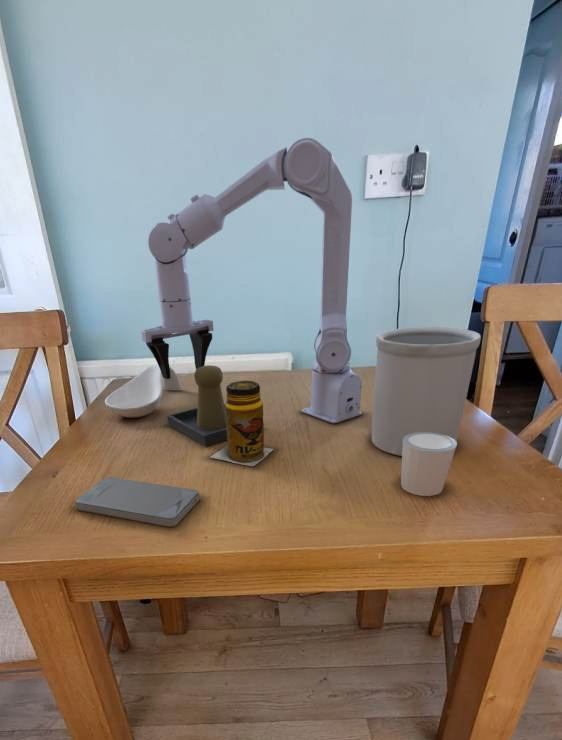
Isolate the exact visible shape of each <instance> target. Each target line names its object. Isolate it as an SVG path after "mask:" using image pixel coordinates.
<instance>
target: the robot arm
mask: <svg viewBox="0 0 562 740" xmlns="http://www.w3.org/2000/svg"><path fill="white" fill-rule="evenodd" d="M285 182H287V184H288V186H289V187H290V189H292V190H293V191H294V192H296V193H298V194H300V195H301V196H304V197H306V198H307V199H309V200H310V201H311V202H312V203H313V204H314V205H315V206H316V207H317V209H318V210H320V211H321V213H322V239H321V240H322V242H321V244H322V245H321V278H320V280H321V281H320V284H321V285H320V315H319V329H318V333H317V334H316V336H315V339H314V342H313V346H314V347H313V349H314V352H315V360H316V361H315V362H313V364H312V365H311V383H310V384H311V389H310V406H308V407H305V408H302V409H301V412H302V413H304V414H305V415H310V416H311V417H314V418H317V419H320V420H323V421H325V422H328V423H331V424H337V423H340V422H343V421H346V420H349V419H352V418H355V417H358V416H361V415H363V411H361V410H360V409H361V397H362V385H363V384H362V379H361V377H360V376H359V375H358V374H356V373H354V372H353V371H352V370H351V364H350V360H351V357H352V348H351V345H350V343H349V340H348V322H347V321H348V320H347V307H348V306H347V304H348V286H349V268H350V267H349V265H350V250H351V249H350V248H351V231H352V229H351V228H352V213H353V212H352V210H353V209H352V208H353V196H352V195H353V194H352V191H351V189H350V187H349V186H348V184H347V182H346V180H345V178H344V176H343V175H342V172H341V171H340V169H339V167H338V165H337V163H336V161H335V158H334V156H333V154H332V152H331V151H330V150H328V149H327V148H326V147H325V145H323V144H321V142H319V141H318V140H316V139H315V138H312V137H302V138H299V139H297V140H296V141H294V142H293V143H292V144H291V145H290V147H289V148H287V147H284V148H282V149H279V150H278V151H276V152H274V153H273V154H271V155H270V156H268V157H266V158H264V160H262V161H261V162H259V163H258V164H257V165H256V166H254V167H253V168H251V169H250V170H249V171H248V172H246V173H245V174H244V175H242V176H241V177H240V178H238V179H237V180H236V181H234V182H233V183H232V184H230V185H229V186H228V187H227V188H226V189H224V190H223V191H221V192H220V193H219V194H218V195H216V196H212V195H209V194H206V193H203V194H202V195H201V196H199V194H195V195H193V196H192V197H190V202H191V203H190V204H188V205H187V206H186V207H184V208H183V209H181V210H180V211H178V212H177V213H176V214H174V213H170V214H169V215H168V216H167V219H168V222H164V221H163V222H158V223H156V224H155V226H154V227H153V228H152V229H151V231H150V233H149V236H148V241H147V244H148V248H149V251H150V253H151V255H152V256H153V257H154V267H155V277H156V285H157V292H158V300H159V307H160V314H161V323H162V325H159V326H156V327H155V326H154V327H151V328H147V329H142V330H140V335H141V341H142V342H143V343H145V345H146V346H147V348H148V349H149V351H150V352H151V354H152V356H153V357H154V359H155V361H156V363H157V366H159V368H160V370H161V373H162V376H163V378H165V379H170V361H169V360H170V359H169V358H170V357H169V356H170V355H169V354H170V353H169V351H170V344H169V343H168V342H166V341H165V340H166V339H170V338H176V337H181V336H189V339H190V342H191V346H192V351H193V358H194V359H193V361H194V367H195V370H196V369H198V368H199V367H202V366H206V365H205V364H206V358H207V353H208V350H209V347H210V345H211V343H212V340H213V333H212V332H214V331H215V330H214V329H215V328H214V320H212V319H201V320H193V309H192V301H191V300H192V299H191V291H190V290H191V289H190V281H189V271H188V269H187V268H188V267H187V259H186V255H187V253H188V251H189V250H194V249H195V248H197V247H198V246H199V245H201V244H203V243H204V242H206V241H207V240H209V239H210V238H211V237H213V236H214V235H216V234H217V233H218V232H220V231H222V230H223V227H224V223H225V219H226V217H227V216H228V215H231V214H232V213H233V212H234V211H236V210H238V209H239V208H241V207H242V206H244V205H245V204H247V203H248V202H250V201H252V200H253V199H255V198H257V197H258V196H259V195H261V194H262V193H264V192H266V191H272V190H273V191H275V190H276V191H277V190H278V191H279V190H281V191H282V190H285ZM162 376H161V377H162Z"/></svg>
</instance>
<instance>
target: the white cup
mask: <svg viewBox="0 0 562 740" xmlns="http://www.w3.org/2000/svg"><path fill="white" fill-rule="evenodd" d="M457 446H458V442H456V441H455V440H454V439H453V438H451V437H449V436H446V435H443V434H439V433H432V432H417V433H411V434H409V435H406V436H405V437H404V439H403V449H402V456H401V473H400V474H401V475H400V476H401V477H400V486H401V488H402V489H403V490H404V491H406V492H407V493H409V494H412V495H415V496H421V497H433V496H436V495H439V494H441V493H442V492H443V489H444V486H445V483H446V480H447V477H448V473H449V471H450V468H451V464H452V462H453V458H454V455H455V452H456V449H457Z"/></svg>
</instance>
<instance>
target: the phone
mask: <svg viewBox="0 0 562 740" xmlns="http://www.w3.org/2000/svg"><path fill="white" fill-rule="evenodd" d="M199 501H200V492H199V491H198V490H197V489H192V488H185V487H178V486H172V485H165V484H159V483H152V482H145V481H138V480H131V479H126V478H120V477H112V476H106V477H104V478H103V479H102V480H101V481H99V482H97V483H96V484H95V485H93V486H92V487H91V488H89V489H88V490H87V491H86V492H84V493H83V494H82V495H80V496H79V497H77V498H76V499H75V506H76V509H77V510H78V511H81V512H87V513H91V514H98V515H102V516H108V517H113V518H118V519H119V518H120V519H124V520H130V521H134V522H135V521H136V522H140V523H145V524H150V525H151V524H152V525H156V526H162V527H167V528H174V527H177V525H179V523H180V522H181V521H182V520H183V519H184V518H185V517H186V516H187V515H188V513H189V512H190V511H191V510H192V509H193V508H194V507H195V506H196V504H198V502H199Z"/></svg>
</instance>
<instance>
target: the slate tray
mask: <svg viewBox="0 0 562 740" xmlns="http://www.w3.org/2000/svg"><path fill="white" fill-rule="evenodd" d="M225 404H226V403H224V406H225ZM197 412H198V406H197V407H193V408H190V409H185V410H182V411H178V412H175V413H171V414H167V415H166V418H167V425H168V427H171V428H172V429H174V430H175V431H177V432H179V433H181V434H182V435H185V436H186V437H188V438H189V439H191V440H192V441H195V442H196V443H198V444H200V445H202V446H203V447H205V448H206V447H207V448H208V447H210V446H212V445H216V444H219V443H222V442H225V441H227V427H224V428H222V429H218V430H203V429H200V428H198V427H197Z"/></svg>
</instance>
